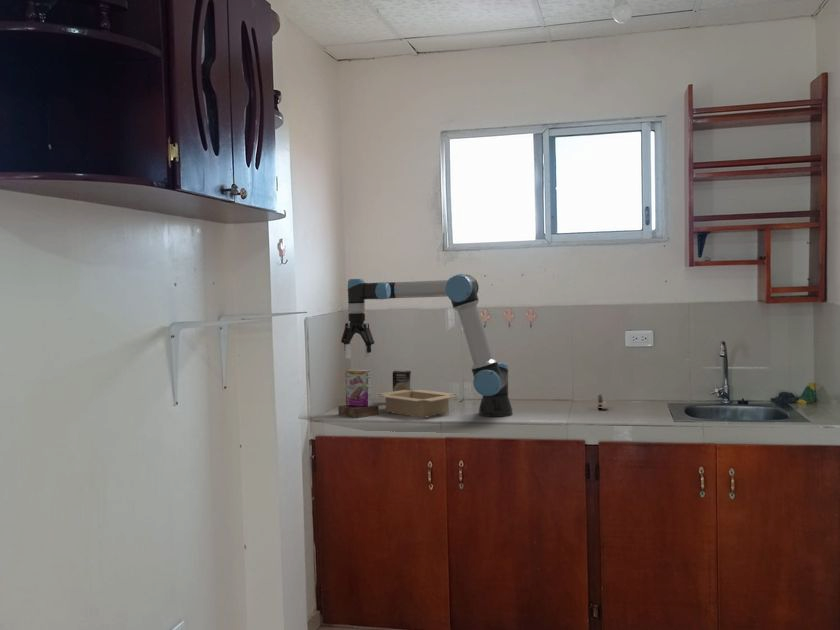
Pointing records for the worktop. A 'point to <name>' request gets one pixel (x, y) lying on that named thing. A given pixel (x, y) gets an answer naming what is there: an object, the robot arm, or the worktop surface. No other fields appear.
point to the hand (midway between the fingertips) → (357, 359)
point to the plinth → (358, 410)
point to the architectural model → (600, 400)
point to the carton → (417, 402)
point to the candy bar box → (358, 388)
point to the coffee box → (401, 380)
